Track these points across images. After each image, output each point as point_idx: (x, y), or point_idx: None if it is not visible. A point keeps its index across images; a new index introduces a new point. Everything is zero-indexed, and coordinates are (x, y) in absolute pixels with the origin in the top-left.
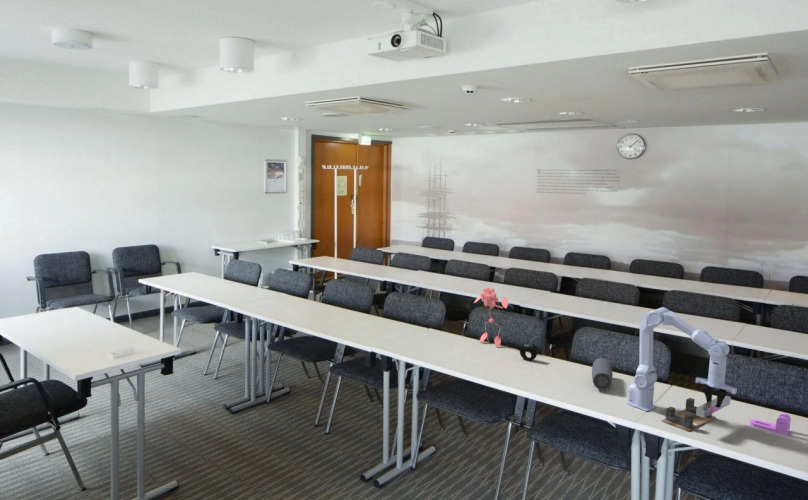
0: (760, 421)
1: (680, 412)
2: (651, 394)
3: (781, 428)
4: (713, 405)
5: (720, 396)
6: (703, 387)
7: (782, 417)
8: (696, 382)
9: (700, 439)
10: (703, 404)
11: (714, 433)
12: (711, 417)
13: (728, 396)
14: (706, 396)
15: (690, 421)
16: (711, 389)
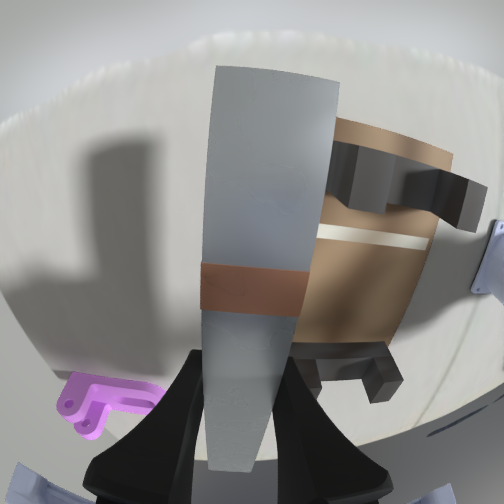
0: (147, 410)
1: (400, 309)
2: None
3: (76, 387)
4: (207, 328)
5: (132, 443)
6: (378, 493)
7: (64, 416)
8: (445, 489)
9: (230, 63)
10: (304, 273)
11: None
12: None
13: (220, 470)
14: (313, 412)
15: (341, 155)
16: (286, 498)
